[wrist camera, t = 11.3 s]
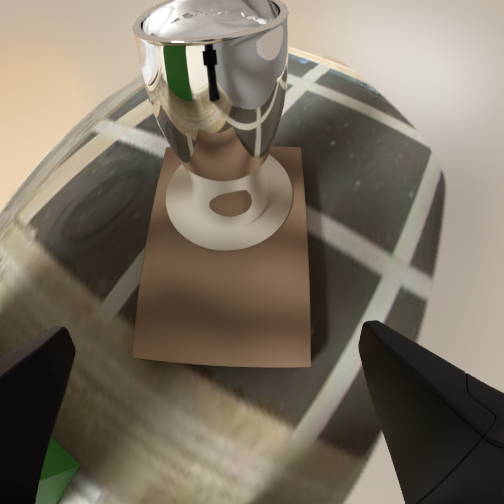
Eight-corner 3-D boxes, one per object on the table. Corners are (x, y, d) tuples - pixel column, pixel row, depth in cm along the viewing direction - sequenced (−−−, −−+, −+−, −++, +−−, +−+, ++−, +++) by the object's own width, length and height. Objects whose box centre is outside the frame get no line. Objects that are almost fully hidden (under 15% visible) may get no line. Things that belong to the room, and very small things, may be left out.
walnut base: (305, 367, 20) (311, 366, 18) (141, 359, 21) (131, 357, 19) (298, 161, 27) (301, 146, 25) (170, 160, 27) (165, 145, 25)
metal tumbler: (281, 166, 24) (299, -8, 10) (266, 242, 22) (282, 48, 8) (199, 155, 25) (167, -9, 11) (174, 226, 22) (97, 51, 8)
